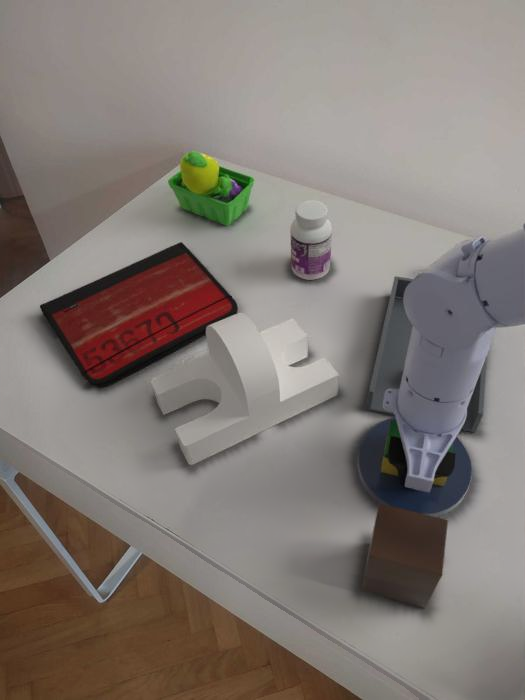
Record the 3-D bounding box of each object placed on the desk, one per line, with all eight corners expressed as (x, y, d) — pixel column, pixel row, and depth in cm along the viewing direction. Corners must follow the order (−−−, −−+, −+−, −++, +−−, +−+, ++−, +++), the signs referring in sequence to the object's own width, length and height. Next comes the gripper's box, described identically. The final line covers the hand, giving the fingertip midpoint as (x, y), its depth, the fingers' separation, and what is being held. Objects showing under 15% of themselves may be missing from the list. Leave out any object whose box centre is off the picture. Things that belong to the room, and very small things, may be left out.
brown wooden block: (425, 608, 49) (442, 574, 43) (361, 590, 50) (369, 555, 44) (431, 558, 52) (448, 519, 46) (370, 542, 53) (378, 502, 47)
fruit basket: (259, 207, 88) (254, 138, 80) (225, 238, 84) (216, 169, 75) (200, 186, 93) (190, 119, 84) (165, 215, 88) (150, 147, 80)
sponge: (443, 486, 55) (450, 468, 52) (380, 472, 56) (384, 453, 54) (447, 451, 57) (454, 432, 55) (387, 438, 59) (391, 419, 56)
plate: (465, 532, 53) (468, 527, 52) (347, 503, 56) (348, 497, 55) (472, 434, 60) (475, 428, 59) (367, 412, 62) (368, 406, 62)
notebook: (37, 303, 73) (180, 238, 80) (43, 315, 75) (183, 251, 82) (90, 386, 65) (244, 306, 72) (95, 398, 66) (245, 318, 74)
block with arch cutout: (293, 339, 70) (292, 270, 62) (337, 395, 64) (342, 327, 56) (155, 399, 65) (134, 333, 57) (189, 466, 59) (171, 403, 51)
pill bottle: (284, 262, 79) (282, 203, 72) (318, 251, 81) (319, 191, 73) (302, 286, 76) (302, 227, 69) (337, 273, 77) (341, 214, 70)
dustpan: (475, 432, 60) (483, 414, 57) (366, 409, 63) (368, 391, 60) (487, 275, 76) (493, 255, 73) (399, 262, 78) (402, 242, 76)
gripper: (402, 304, 52) (385, 394, 62) (375, 437, 43) (361, 516, 53) (483, 318, 50) (453, 408, 60) (473, 459, 41) (439, 536, 51)
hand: (414, 460), depth 57 cm, fingers open, 5 cm apart
